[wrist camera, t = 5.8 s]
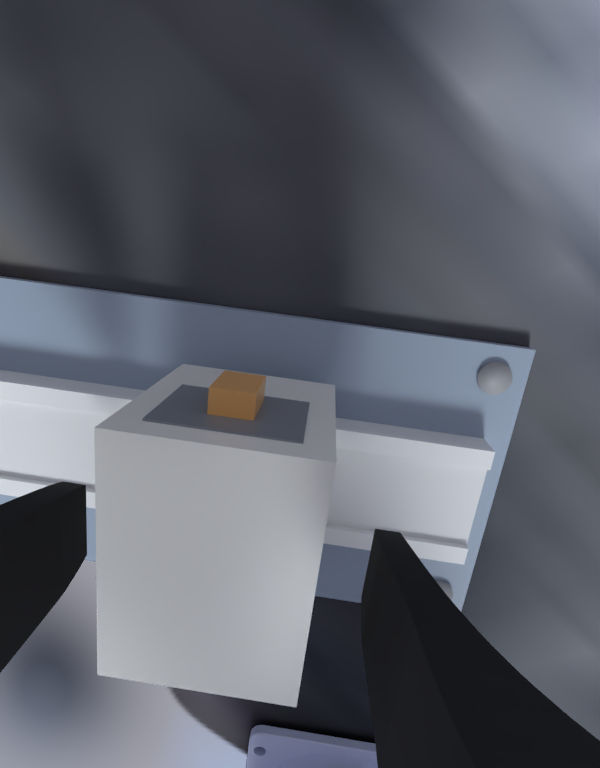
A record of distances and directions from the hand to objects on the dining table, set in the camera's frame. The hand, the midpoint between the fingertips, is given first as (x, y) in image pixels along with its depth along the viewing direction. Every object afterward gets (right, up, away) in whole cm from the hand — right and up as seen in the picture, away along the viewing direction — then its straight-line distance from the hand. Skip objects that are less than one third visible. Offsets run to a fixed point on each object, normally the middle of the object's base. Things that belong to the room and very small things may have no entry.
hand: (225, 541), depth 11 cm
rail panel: (-3, +2, +4) cm, 6 cm away
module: (0, +1, +3) cm, 3 cm away
